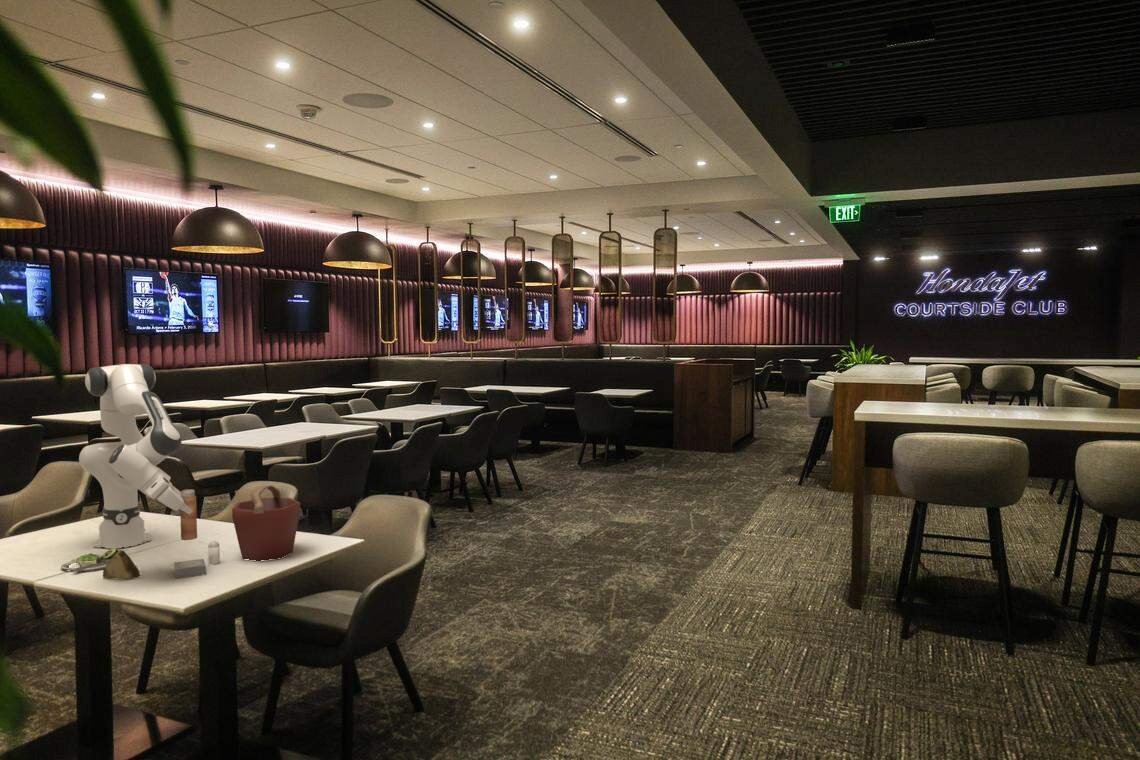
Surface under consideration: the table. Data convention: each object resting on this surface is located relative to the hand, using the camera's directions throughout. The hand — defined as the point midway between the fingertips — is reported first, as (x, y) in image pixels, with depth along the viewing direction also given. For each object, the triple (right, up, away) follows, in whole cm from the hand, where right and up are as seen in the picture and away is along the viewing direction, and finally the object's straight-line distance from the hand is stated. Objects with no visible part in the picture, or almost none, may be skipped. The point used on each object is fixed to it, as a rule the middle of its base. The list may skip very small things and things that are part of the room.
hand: (190, 510), depth 257 cm
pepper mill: (-1, -9, 0) cm, 9 cm away
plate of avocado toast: (-38, -21, +11) cm, 45 cm away
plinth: (-1, -21, +1) cm, 21 cm away
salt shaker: (+2, -20, +12) cm, 24 cm away
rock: (-21, -21, -4) cm, 30 cm away
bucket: (+16, -20, +22) cm, 34 cm away
